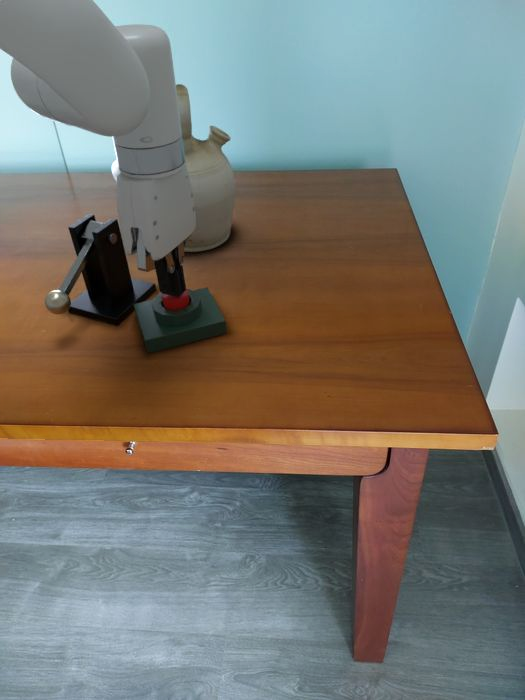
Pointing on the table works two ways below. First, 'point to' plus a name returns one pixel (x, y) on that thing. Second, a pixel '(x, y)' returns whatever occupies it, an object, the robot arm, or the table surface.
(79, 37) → the robot arm
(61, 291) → the lever
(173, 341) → the button box
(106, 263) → the bracket
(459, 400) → the table surface
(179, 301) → the button
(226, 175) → the jug
